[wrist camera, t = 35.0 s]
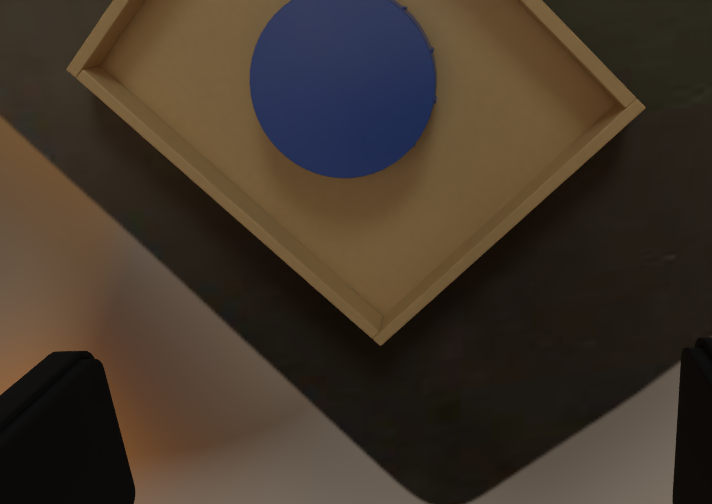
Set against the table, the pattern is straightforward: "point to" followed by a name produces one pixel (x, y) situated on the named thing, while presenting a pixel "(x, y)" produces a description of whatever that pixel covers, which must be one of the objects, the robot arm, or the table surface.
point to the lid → (343, 84)
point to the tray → (389, 186)
